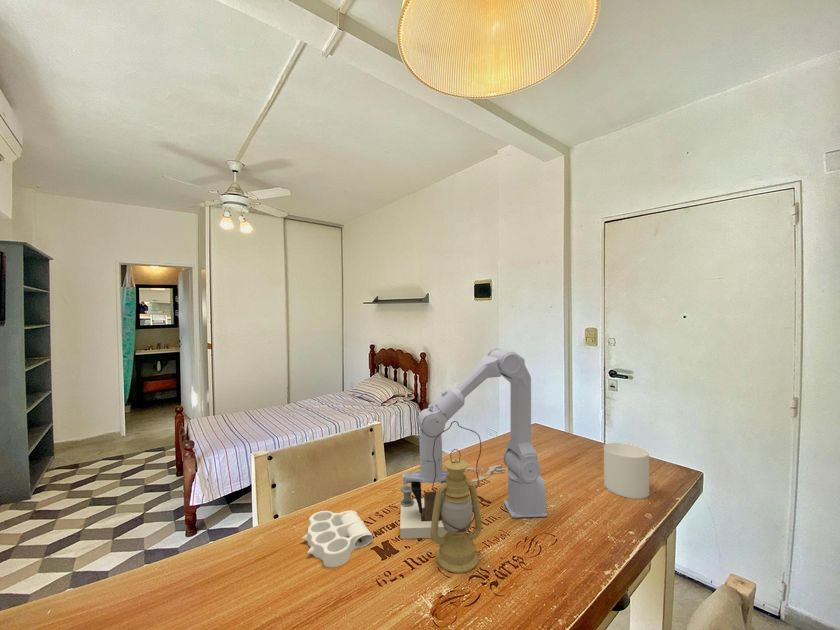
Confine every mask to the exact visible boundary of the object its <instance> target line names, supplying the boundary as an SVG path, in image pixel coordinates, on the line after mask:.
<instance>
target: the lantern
mask: <svg viewBox="0 0 840 630" xmlns="http://www.w3.org/2000/svg"><path fill="white" fill-rule="evenodd" d="M453 423H456V424H457V426H458V427H459V428H461V429H464V430H467V431H470V432H473V433H475V435H477V436H478V439H479V445H480V450H479V454H478V457H477V459H476V464H475V465H476V467H475V468H476V470H475V471H476V472H475V473H476V479H478V482H477V485H476V482H473V481H472V480H473V479H469V478H467V476H466V474H464V473H465V471H466V470H465V469H466V468H469V463H468V462H467V461H465V460H463V459H461V451H460V450H459V449H457V448H453V450H451V452H450V455H449V456H450V459H448V460H446V461H444V463H443V465H444V468H446V469H447V470H446V471H448V472H449V474H447V475H446V482H444V483H442V484H441V483H440V484H439V485H438V486H437V488H436V491H435V490H434V484H435V483H434V481H435V478H436V463H435V460H434V463H435V478H434V481H433V483H432V488H431V490H432V492H434V494H435V492H436V494H435V502H434V508H433V514H432V522H431V538H430V539H431V541H432V542H433V543H434V544H436V545H438V547H439V548H438V549H437V551H436V554H435V558H436V561H437V563H438V565H439V566H440V567H441V568H442V569H444V570H445V571H447V572H450V573H453V574H464V573H467V572H470V571H471V570H473V569H474V568H475V567H476V566H477V565H478V563H479V554H478V553H477V551H476V550H475V549H476V548H475V547H476V545H475V543H474V540H476V539H477V538H478V537H479V535H480V534H481V532H482V529H483V522H482V513H481V508H480V502H479V501H480V500H479V496H478V491H477V488H478V487H479V483H480V481H479V473H478V472H477V468H478V463H479V460H480V456H481V453H482V440H481V436H480V435H479V434H478V433H477V432H476V431H474V430H472V429H469V428H466V427H463V426H461V425H459V422H458V421H456V420H455V421H451V422H450V425H449V427H448V428H447V429H444V431H443V432H441V433H440V434H441V435H442V434H443V433H445V432H446V431H448V430H449V429H450V428H451V427H452V425H453ZM440 434H439V435H440ZM439 435H438V436H439ZM438 436H437V437H438ZM437 437H436V438H437ZM436 438H435V440H436ZM435 440H434V446H435ZM434 446H433V459H434ZM454 451H457V452H459V458H458V459H457V458H453V459H452V453H453V452H454ZM443 491H444V493H443ZM439 515H440V516H441V517H439ZM439 519H440V521H442V523H443V526H444V528H445V530H446V531H447V533H446V534H445V535H444V536H443V537H439V536H438V524H439ZM473 522H474V526H475V527H474V529H473V531H470V532H468V531H469V530H470V528H471V525H472V523H473Z"/></svg>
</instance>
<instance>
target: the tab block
mask: <svg viewBox="0 0 840 630" xmlns="http://www.w3.org/2000/svg"><path fill="white" fill-rule="evenodd" d="M434 492H435V494H436V491H434ZM434 492H433V491H425V492H424V491H423V499H424V517H423V518H424V521H432V514H433V508H434V502H435V494H434ZM439 521H441V518H439Z"/></svg>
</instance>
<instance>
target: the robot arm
mask: <svg viewBox="0 0 840 630" xmlns="http://www.w3.org/2000/svg"><path fill="white" fill-rule="evenodd" d="M525 362H526V360H525V358H523V357H522V356H521V355H520V354H518V353H517V352H515V351H508V350H503V349H501V348H493V349H491V350H489V351H488V353H486V354H485V355H483V356H482V358H481V359H480V360H479V362H478V364H476V366H475V367H474V368H472V370H471V371H470V372H469V373H468V374H467V375H466V376H465V377H464V378H463V380H462V381H461V382H460V383H459V384H458V385H457V386H456V387H453V388H451V387H449V388H447V390H446V389H443V390H442V391H441V392H440V393H441V395H440V396H439V397H438V398H437V399H436V400H435V401H434V402H433V403H432V404H431V403H429V404H428V405H427V408H424V409H422V410H421V411H420V412H419V414H418V416H417V419H416V423H417V425H418V427H419V470H418V471H414V472H409V473H402V485H403V486H405V485H408V484H410V485H411V489H412V492H411V493H413V495H414V497H415V498H414V499H416V500H417V503H418V507H419V513H422V502H421V499H422V483H424V484H425V483H427V484H433V481H434V478H435V463H436V478H435V481H434V484H436V483H440V484H442V483H444V482H446V475H447V474H449V472H448V471H447V470H443V444H442V443H443V439H442V434H440V433H441V432H443V431H444V430H446V429H445V428H446V423H448V421H450V419H452V417H454V416H455V414H456V413H457V412H458V411H460V409H462V408H463V407H464V406H465V401H466V400H465V398H466V397H467V396H469V395H470V393H472V392H473V391H474V390H475V389H477V388H478V387H479V386H480V385H481V384H483V382H485V381H486V380H487V379H489V378H500V377H503V378H504V379H505V380H506V381H508V382H509V385H510V440H508V441H507V442H506V445H505V446H506V448H505V450H504V453H503V457H502V459H503V463H504V465H505V467H507V499H504V500H503V504H504V506H505V508H506V509H507V511H508V513H509V515H510V516H511V518H513V519H514V518H515V519H519V518H539V517H540V518H541V517H542V518H545V517H547V516H548V514H547V500H546V499H547V494H546V486H545V485H546V484H545V481H544V479H543V477H542V476H541V475H540V474H541V466H540V463H539V461H538V453H537V451H536V449H535V447H534V445H533V443H532V376H531V374H530V372H529V370H528V368H527V367H526V363H525ZM443 433H444V432H443ZM439 434H440V435H439ZM438 435H439V436H438ZM437 436H438V437H437ZM436 437H437V438H436ZM435 438H436V440H435ZM434 440H435V446H434ZM433 446H434V459H433ZM434 460H435V463H434ZM443 493H444V491H443Z"/></svg>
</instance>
